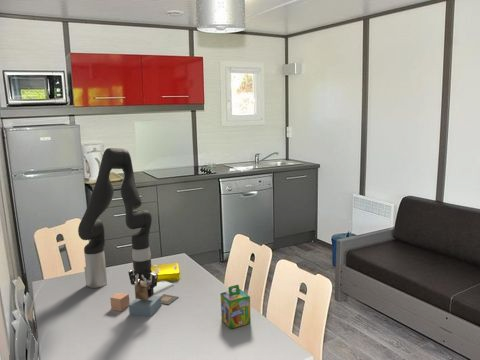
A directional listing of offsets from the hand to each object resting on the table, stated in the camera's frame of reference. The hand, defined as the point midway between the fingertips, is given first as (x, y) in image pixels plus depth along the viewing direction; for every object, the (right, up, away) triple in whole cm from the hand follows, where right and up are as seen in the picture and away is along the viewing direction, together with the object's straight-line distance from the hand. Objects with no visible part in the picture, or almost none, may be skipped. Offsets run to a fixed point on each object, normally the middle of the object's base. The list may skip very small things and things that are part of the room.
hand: (144, 295), depth 178 cm
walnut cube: (0, -1, 0) cm, 1 cm away
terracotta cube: (-11, -7, +4) cm, 14 cm away
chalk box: (+39, -8, -12) cm, 42 cm away
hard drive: (+1, -4, +23) cm, 24 cm away
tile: (+8, -5, +10) cm, 13 cm away
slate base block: (0, -7, +1) cm, 7 cm away
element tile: (+2, -1, +38) cm, 38 cm away
